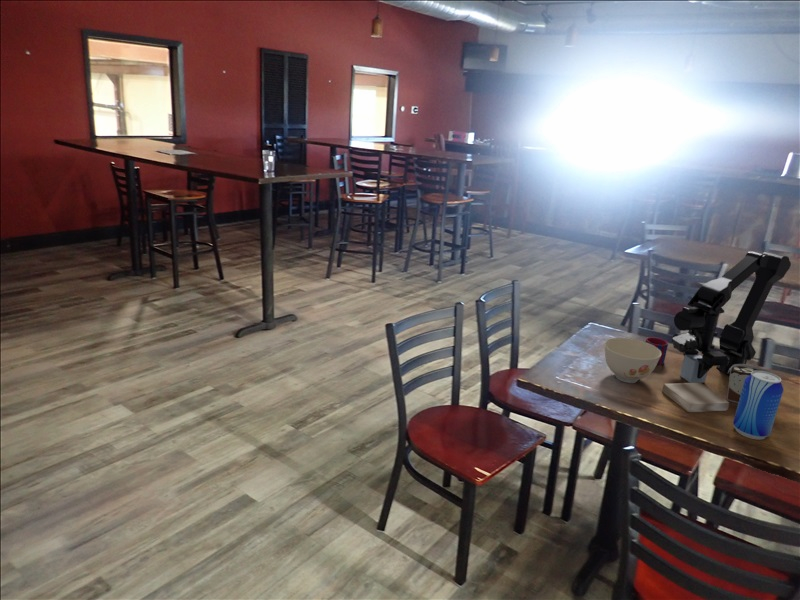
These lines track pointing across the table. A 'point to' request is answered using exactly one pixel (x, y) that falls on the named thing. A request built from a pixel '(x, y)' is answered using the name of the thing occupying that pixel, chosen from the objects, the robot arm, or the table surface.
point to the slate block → (691, 369)
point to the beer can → (758, 405)
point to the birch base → (695, 397)
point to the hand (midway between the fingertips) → (693, 374)
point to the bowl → (630, 358)
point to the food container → (739, 379)
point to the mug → (659, 347)
